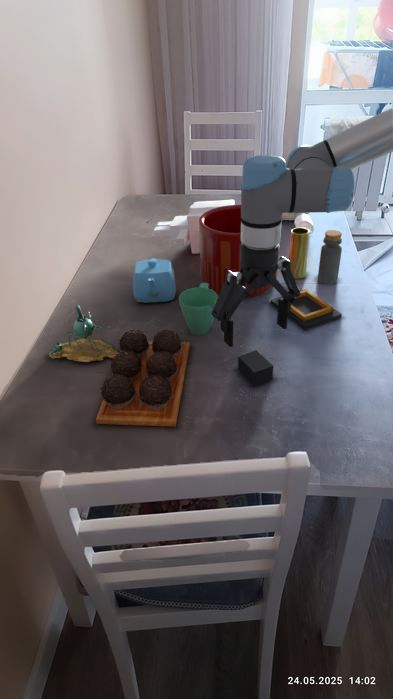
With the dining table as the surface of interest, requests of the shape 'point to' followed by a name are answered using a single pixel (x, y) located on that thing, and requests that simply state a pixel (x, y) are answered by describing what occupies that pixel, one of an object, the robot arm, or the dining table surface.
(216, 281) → the planter
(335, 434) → the dining table surface
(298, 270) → the vase
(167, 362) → the chocolate muffin tray
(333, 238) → the bottle
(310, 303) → the base
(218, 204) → the white stepped block
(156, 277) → the teapot
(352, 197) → the robot arm
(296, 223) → the roll
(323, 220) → the dining table surface
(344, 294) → the dining table surface
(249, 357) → the black rectangular block
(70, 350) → the cartoon bug character
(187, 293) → the mug
